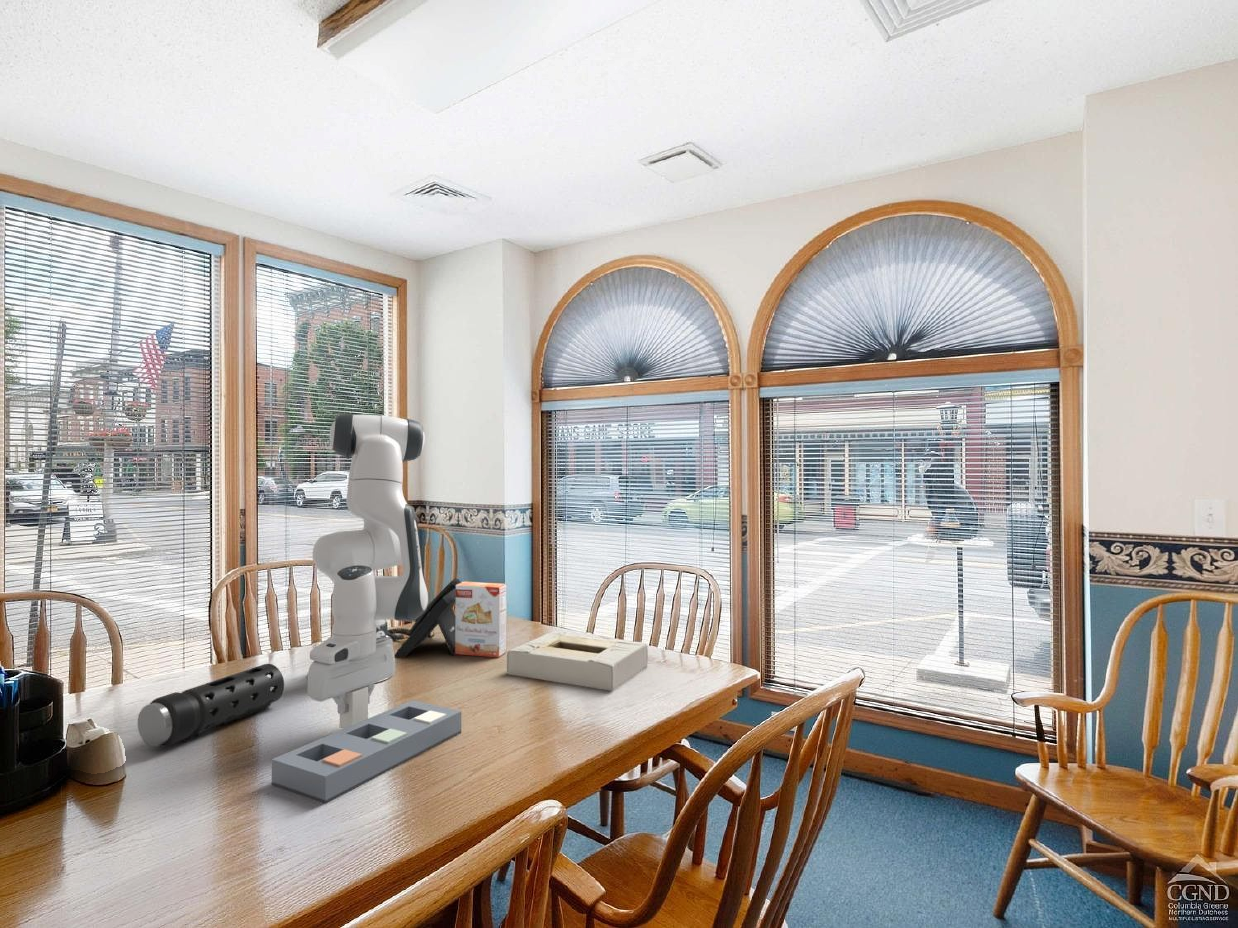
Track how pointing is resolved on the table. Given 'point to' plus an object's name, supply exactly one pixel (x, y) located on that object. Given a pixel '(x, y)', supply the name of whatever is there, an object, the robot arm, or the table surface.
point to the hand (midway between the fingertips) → (353, 708)
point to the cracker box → (480, 619)
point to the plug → (355, 707)
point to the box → (578, 660)
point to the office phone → (431, 622)
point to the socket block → (364, 750)
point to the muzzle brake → (209, 705)
